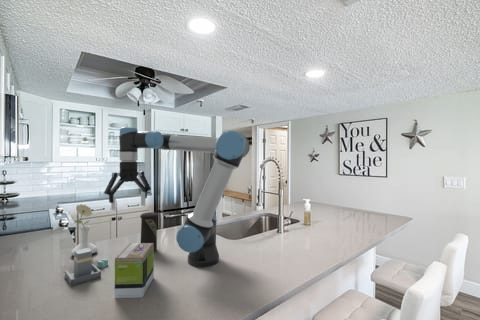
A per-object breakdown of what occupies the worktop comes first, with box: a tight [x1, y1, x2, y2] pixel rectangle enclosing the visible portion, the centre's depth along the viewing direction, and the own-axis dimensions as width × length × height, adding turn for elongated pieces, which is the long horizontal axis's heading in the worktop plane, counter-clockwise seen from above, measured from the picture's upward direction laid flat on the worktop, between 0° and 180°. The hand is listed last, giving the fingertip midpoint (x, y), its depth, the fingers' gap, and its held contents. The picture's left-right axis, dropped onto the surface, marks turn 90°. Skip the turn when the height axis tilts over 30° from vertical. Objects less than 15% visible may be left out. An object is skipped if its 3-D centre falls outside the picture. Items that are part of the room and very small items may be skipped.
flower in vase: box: [70, 203, 98, 257], centre depth 123 cm, size 13×11×25 cm
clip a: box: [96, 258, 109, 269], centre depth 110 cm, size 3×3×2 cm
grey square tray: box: [64, 263, 102, 287], centre depth 100 cm, size 11×10×2 cm
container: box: [139, 211, 159, 253], centre depth 130 cm, size 9×9×20 cm
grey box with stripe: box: [73, 248, 93, 278], centre depth 100 cm, size 5×5×10 cm
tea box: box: [114, 242, 155, 299], centre depth 93 cm, size 15×10×15 cm, turn 5°
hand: (129, 207), depth 112 cm, fingers open, 13 cm apart
